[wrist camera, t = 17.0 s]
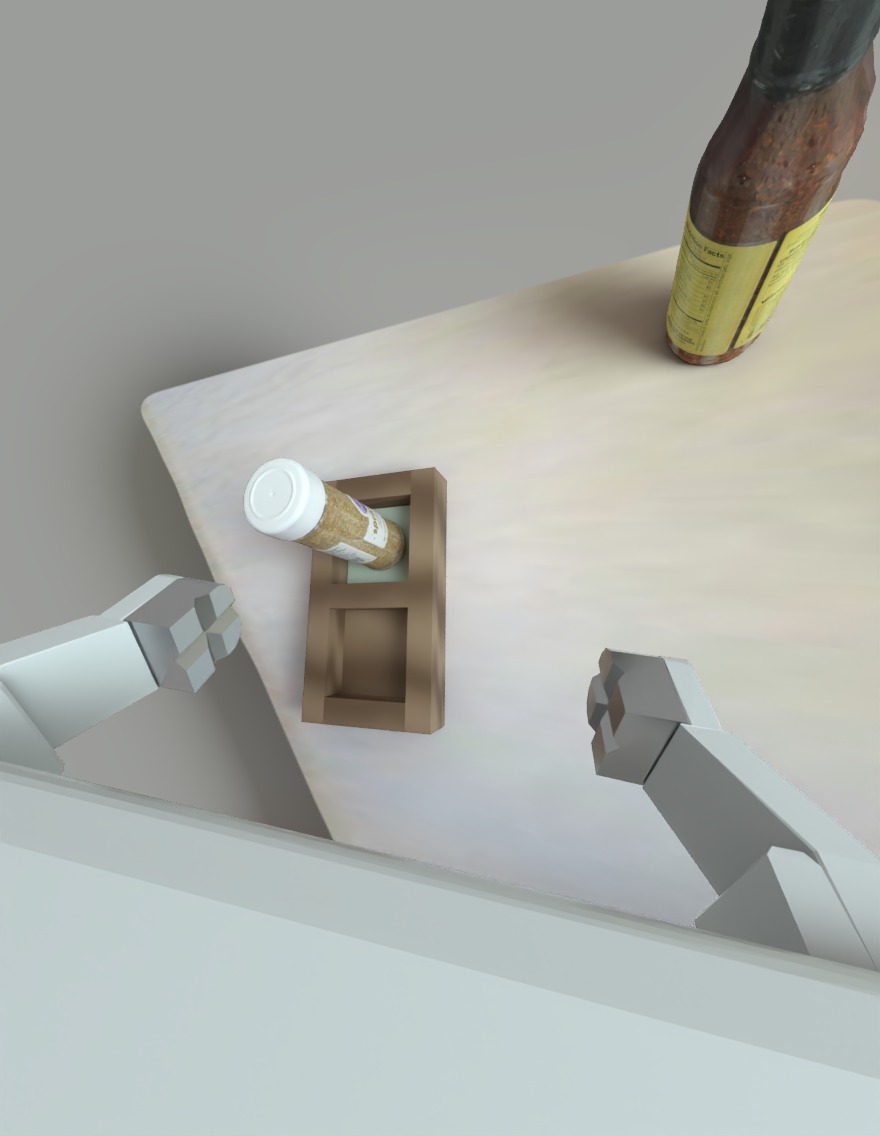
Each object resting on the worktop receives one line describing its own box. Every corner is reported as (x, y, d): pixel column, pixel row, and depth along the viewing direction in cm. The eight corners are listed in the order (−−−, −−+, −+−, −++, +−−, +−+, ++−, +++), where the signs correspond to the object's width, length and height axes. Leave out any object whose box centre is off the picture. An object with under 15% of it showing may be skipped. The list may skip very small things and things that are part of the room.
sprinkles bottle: (416, 534, 34) (319, 473, 22) (389, 581, 34) (278, 547, 22) (376, 511, 36) (265, 443, 23) (350, 556, 36) (226, 511, 24)
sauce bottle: (748, 280, 29) (1020, -324, 11) (771, 355, 28) (1123, -185, 10) (649, 312, 31) (737, -151, 13) (666, 383, 30) (791, -17, 12)
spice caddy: (444, 726, 32) (430, 734, 29) (324, 715, 35) (301, 721, 32) (446, 480, 35) (434, 467, 32) (336, 494, 39) (317, 483, 36)
